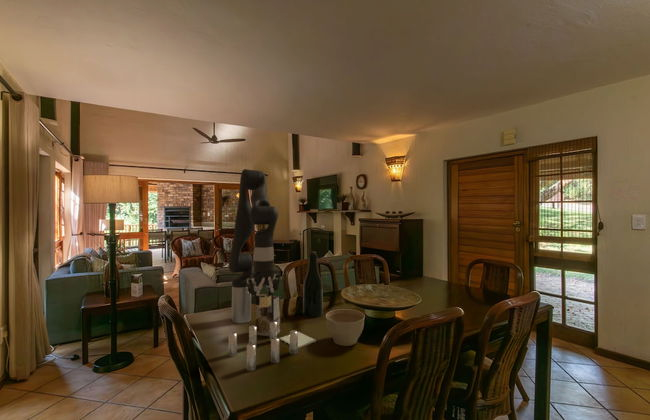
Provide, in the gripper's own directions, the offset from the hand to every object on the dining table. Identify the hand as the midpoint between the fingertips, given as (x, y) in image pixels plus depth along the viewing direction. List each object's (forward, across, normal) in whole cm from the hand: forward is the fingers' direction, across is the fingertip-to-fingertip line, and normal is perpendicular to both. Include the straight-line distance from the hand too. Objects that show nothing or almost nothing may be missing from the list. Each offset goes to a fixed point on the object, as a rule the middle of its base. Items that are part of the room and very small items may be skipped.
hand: (263, 303), depth 116 cm
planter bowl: (+19, -31, +13) cm, 39 cm away
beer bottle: (+19, -43, -22) cm, 52 cm away
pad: (+19, -17, -1) cm, 25 cm away
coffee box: (+19, -12, -16) cm, 28 cm away
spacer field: (+19, 0, 0) cm, 19 cm away
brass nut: (+1, 0, 0) cm, 1 cm away
